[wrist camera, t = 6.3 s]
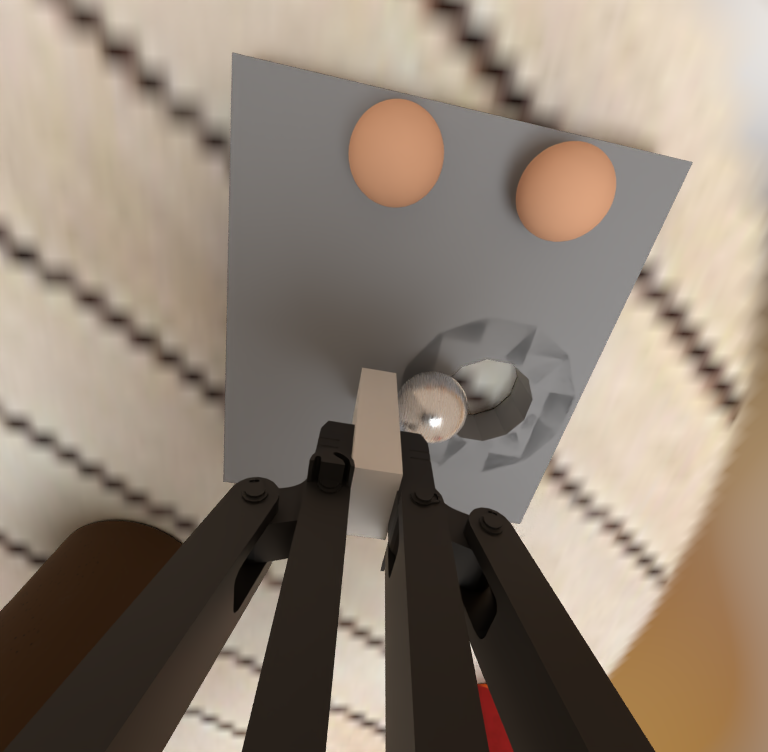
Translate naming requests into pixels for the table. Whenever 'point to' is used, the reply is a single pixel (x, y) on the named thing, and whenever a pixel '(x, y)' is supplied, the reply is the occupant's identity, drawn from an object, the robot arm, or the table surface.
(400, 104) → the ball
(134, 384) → the table surface
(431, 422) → the ball
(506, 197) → the plate
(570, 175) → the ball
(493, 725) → the coffee cup
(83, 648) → the olive oil
